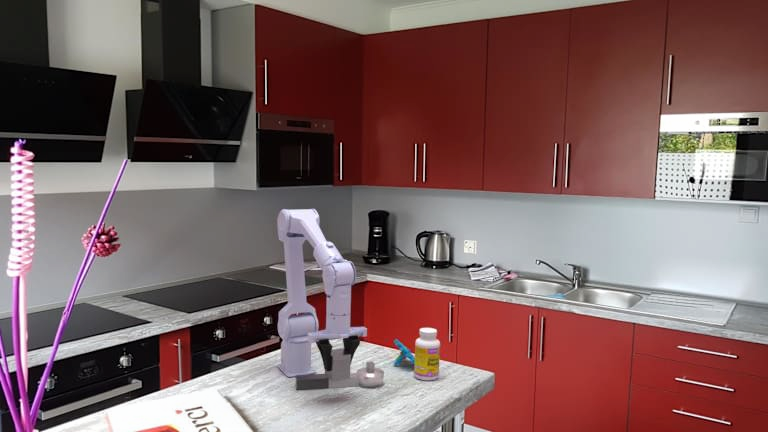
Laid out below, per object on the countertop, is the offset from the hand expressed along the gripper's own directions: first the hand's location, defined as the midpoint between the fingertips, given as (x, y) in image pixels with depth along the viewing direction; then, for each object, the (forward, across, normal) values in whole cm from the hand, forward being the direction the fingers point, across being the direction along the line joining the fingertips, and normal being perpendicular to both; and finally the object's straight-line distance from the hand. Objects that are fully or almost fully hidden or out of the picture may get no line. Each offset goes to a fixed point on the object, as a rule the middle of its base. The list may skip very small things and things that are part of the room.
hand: (337, 368), depth 139 cm
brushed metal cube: (+2, 0, 0) cm, 2 cm away
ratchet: (+8, +4, +7) cm, 11 cm away
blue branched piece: (+8, +28, +14) cm, 32 cm away
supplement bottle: (+8, +28, +4) cm, 29 cm away
